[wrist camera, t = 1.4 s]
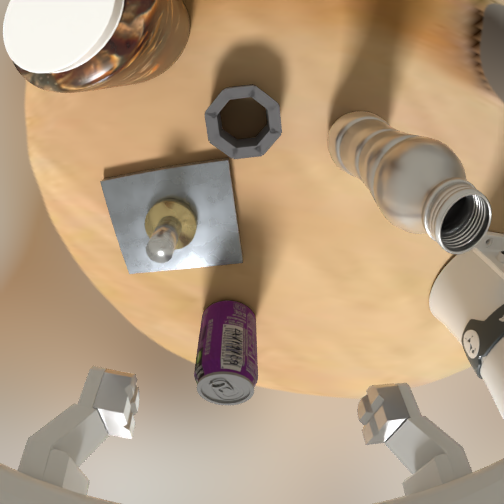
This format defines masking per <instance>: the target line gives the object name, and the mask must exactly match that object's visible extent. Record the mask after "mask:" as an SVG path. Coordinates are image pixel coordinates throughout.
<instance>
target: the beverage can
mask: <svg viewBox="0 0 504 504" xmlns="http://www.w3.org/2000/svg"><path fill="white" fill-rule="evenodd" d="M194 377H195V380H196V382H197V391H198V393H199V395H200V396H201V397H202V398H204V399H205V400H207V401H209V402H211V403H215V404H219V405H236V404H240V403H243V402H245V401H247V400H249V399H250V398H251V397H252V396H253V394H254V386H255V385H256V383H257V380H258V366H257V339H256V318H255V315H254V313H253V312H252V310H251V309H250V308H249V307H247V306H246V305H244V304H242V303H239V302H236V301H220V302H216V303H214V304H212V305H210V306H209V307H208V308H207V309H206V310H205V311H204V313H203V315H202V321H201V328H200V335H199V342H198V349H197V357H196V364H195V373H194Z"/></svg>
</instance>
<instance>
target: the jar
mask: <svg viewBox="0 0 504 504" xmlns="http://www.w3.org/2000/svg"><path fill="white" fill-rule="evenodd" d="M189 32H190V20H189V15H188V11H187V8H186V6H185V4H184V3H183V1H182V0H11V1H10V3H9V5H8V8H7V11H6V13H5V18H4V24H3V39H4V44H5V47H6V50H7V53H8V54H9V56H10V58H11V59H12V60H13V63H14V65H15V67H16V68H17V70H18V71H19V73H20V74H21V75H22V76H23V77H24V78H25V79H26V80H27V81H29V82H30V83H31V84H33V85H35V86H37V87H38V88H41V89H43V90H47V91H51V92H61V93H74V92H84V91H91V90H98V89H105V88H111V87H118V86H125V85H131V84H137V83H141V82H145V81H148V80H150V79H152V78H155V77H157V76H158V75H160V74H162V73H163V72H165V71H166V70H167V69H168V68H170V67H171V66H172V65H173V64H174V63H175V62H176V60H177V59H178V58H179V57H180V55H181V54H182V52H183V50H184V48H185V46H186V44H187V41H188V37H189Z"/></svg>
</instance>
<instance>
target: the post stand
mask: <svg viewBox="0 0 504 504" xmlns="http://www.w3.org/2000/svg"><path fill="white" fill-rule="evenodd" d="M100 182H101V186H102V190H103V193H104V197H105V200H106V204H107V207H108V210H109V214H110V217H111V220H112V224H113V227H114V230H115V233H116V236H117V239H118V242H119V245H120V248H121V251H122V254H123V257H124V260H125V263H126V266H127V269H128V271H129V274H134V273H144V272H155V271H166V270H176V269H186V268H197V267H207V266H217V265H227V264H237V263H243V255H242V248H241V241H240V235H239V228H238V221H237V214H236V207H235V200H234V193H233V186H232V178H231V171H230V164H229V158H222V159H215V160H207V161H200V162H193V163H187V164H180V165H174V166H168V167H162V168H156V169H150V170H145V171H139V172H134V173H129V174H124V175H119V176H114V177H109V178H104V179H103V180H102V181H100Z"/></svg>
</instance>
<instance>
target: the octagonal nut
mask: <svg viewBox="0 0 504 504" xmlns="http://www.w3.org/2000/svg"><path fill="white" fill-rule="evenodd" d="M248 97H252V98H253V99H254V100H256V101H257V102H258V103H260V104H261V105H262V106H263V107H265V108H266V117H267V124H266V126H265V127H264V128H263V129H262V130H261V131H260V133H259V134H258V135H257V136H256V137H254V138H245V139H236V138H235V137H233V136H232V135H231V134H229V133H228V132H226V131H225V130H224V129H223V128H222V121H221V114H220V111H221V110H222V109H223V107H224V106H225V105H226V104H227V102H228V101H229V100H231V99H239V98H248ZM205 120H206V127H207V134H208V140H209V141H210V142H209V143H211V144H212V145H214V146H215V147H216V148H218V149H219V150H221V151H222V152H223V153H225V154H226V155H227V156H229V157H230V158H233V159H240V158H249V157H258V156H262V155H264V154H265V153H266V152H267V150H268V149H269V148H270V147H271V146H272V145H273V143H274V142H275V141H276V140H277V139H278V138H279V137H280V135H281V133H282V129H281V118H280V107H279V105H278V103H277V102H276V101H275V100H273V99H272V98H271V97H270V96H268V95H267V94H266V93H264V92H263V91H262V90H260V89H259V88H258V87H257V86H255V85H243V86H235V87H227V88H225V89H223V90H222V91H221V93H220V94H219V95H218V96H217V98H216V99H215V100H214V101H213V103H212V104H211V105H210V107H209V108H208V109H207V110H206V112H205Z"/></svg>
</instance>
